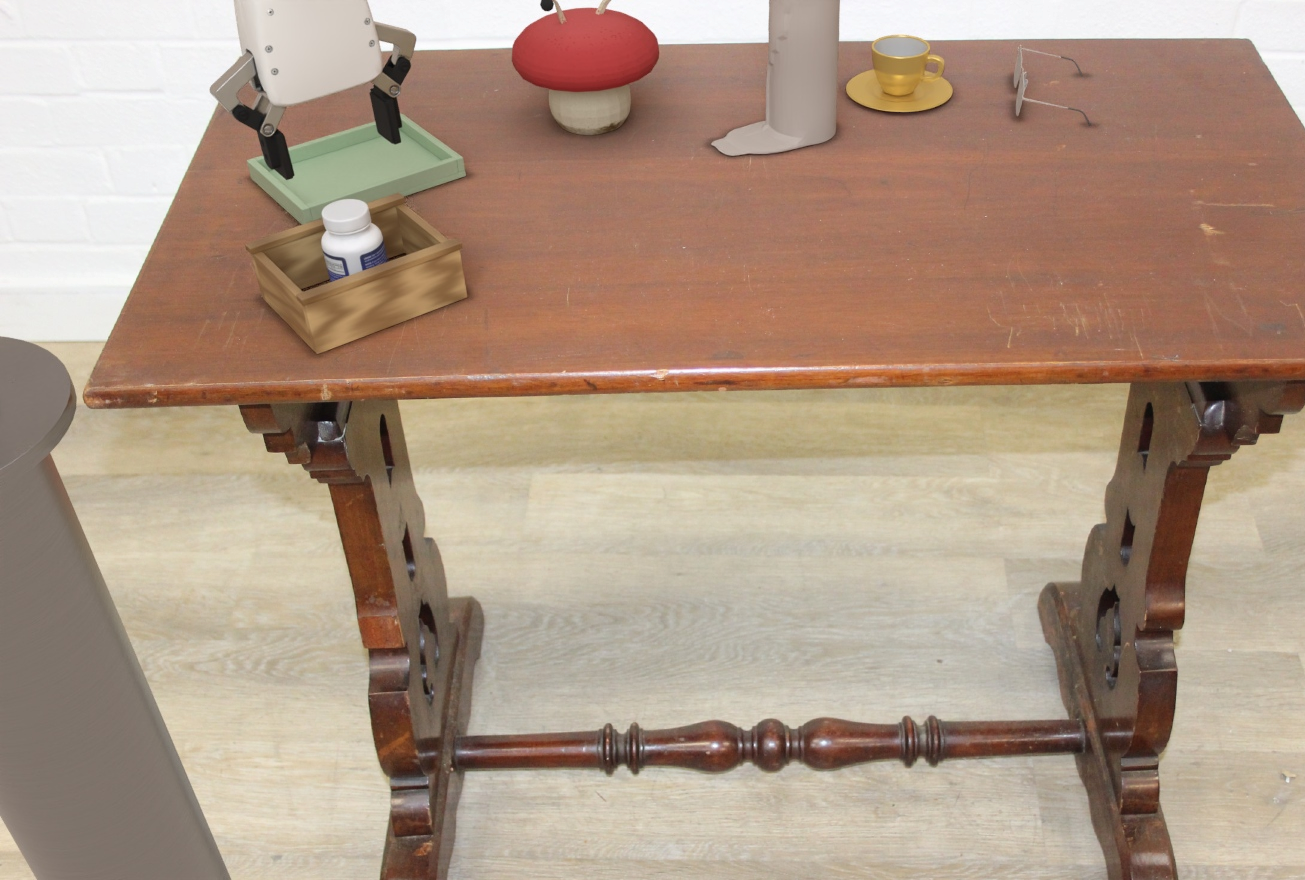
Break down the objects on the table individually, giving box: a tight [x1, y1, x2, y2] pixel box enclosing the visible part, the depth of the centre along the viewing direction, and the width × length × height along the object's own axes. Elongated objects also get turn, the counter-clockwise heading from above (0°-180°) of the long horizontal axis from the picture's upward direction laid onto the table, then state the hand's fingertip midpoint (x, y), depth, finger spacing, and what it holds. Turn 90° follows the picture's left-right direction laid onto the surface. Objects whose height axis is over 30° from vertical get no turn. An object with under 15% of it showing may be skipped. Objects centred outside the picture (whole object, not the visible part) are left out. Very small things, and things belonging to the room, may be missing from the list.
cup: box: [845, 34, 954, 113], centre depth 157 cm, size 12×12×5 cm
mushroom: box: [511, 0, 660, 136], centre depth 149 cm, size 16×16×15 cm
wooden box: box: [244, 193, 468, 355], centre depth 124 cm, size 15×12×6 cm
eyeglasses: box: [1013, 44, 1093, 126], centre depth 156 cm, size 14×8×4 cm, turn 173°
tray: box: [246, 112, 467, 225], centre depth 144 cm, size 18×14×2 cm
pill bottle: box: [321, 199, 389, 283], centre depth 123 cm, size 5×5×9 cm
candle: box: [710, 0, 841, 157], centre depth 144 cm, size 7×14×20 cm, turn 116°
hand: (337, 155), depth 117 cm, fingers open, 9 cm apart
